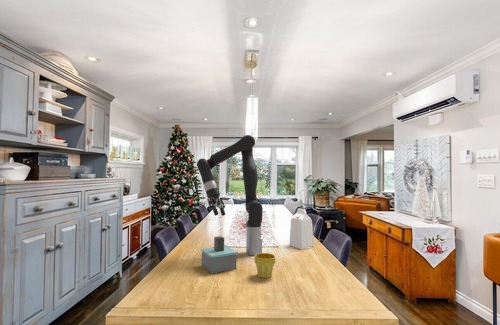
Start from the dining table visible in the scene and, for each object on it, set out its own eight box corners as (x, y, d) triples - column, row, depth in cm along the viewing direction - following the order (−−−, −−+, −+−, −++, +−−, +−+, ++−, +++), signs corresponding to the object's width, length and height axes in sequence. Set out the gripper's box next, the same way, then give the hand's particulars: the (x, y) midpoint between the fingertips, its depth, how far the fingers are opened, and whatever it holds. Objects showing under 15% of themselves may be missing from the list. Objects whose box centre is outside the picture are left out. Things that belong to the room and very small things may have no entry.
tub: (224, 261, 157) (225, 247, 158) (236, 269, 145) (236, 253, 146) (201, 265, 150) (201, 250, 150) (211, 273, 138) (212, 257, 138)
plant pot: (273, 280, 130) (274, 259, 131) (252, 278, 133) (252, 258, 133) (276, 272, 141) (276, 253, 141) (256, 271, 143) (256, 252, 143)
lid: (225, 248, 158) (225, 233, 159) (237, 255, 145) (238, 238, 146) (200, 252, 151) (201, 235, 151) (211, 259, 138) (211, 241, 138)
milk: (313, 247, 192) (313, 209, 193) (301, 249, 185) (301, 210, 186) (301, 243, 202) (301, 207, 203) (289, 245, 195) (289, 208, 196)
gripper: (210, 185, 157) (219, 212, 151) (222, 188, 170) (231, 212, 164) (200, 191, 159) (208, 217, 153) (212, 193, 172) (221, 217, 166)
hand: (220, 215), depth 159 cm, fingers open, 8 cm apart
